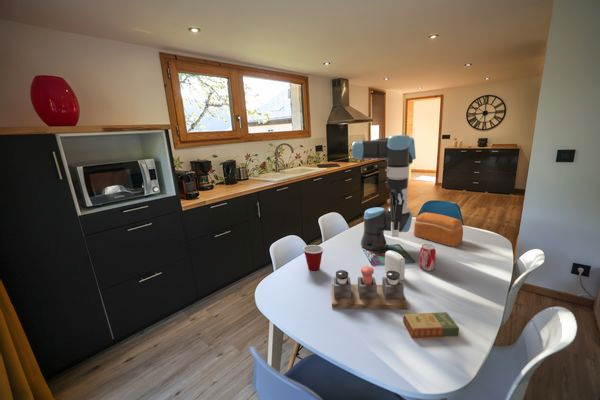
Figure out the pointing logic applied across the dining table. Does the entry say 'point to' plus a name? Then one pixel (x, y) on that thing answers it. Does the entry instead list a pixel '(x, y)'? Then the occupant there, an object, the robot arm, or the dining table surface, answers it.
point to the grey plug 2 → (392, 277)
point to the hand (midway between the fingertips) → (394, 236)
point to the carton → (430, 325)
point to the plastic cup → (313, 256)
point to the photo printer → (395, 263)
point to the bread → (439, 228)
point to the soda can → (427, 257)
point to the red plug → (367, 275)
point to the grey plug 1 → (342, 277)
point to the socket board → (368, 295)
